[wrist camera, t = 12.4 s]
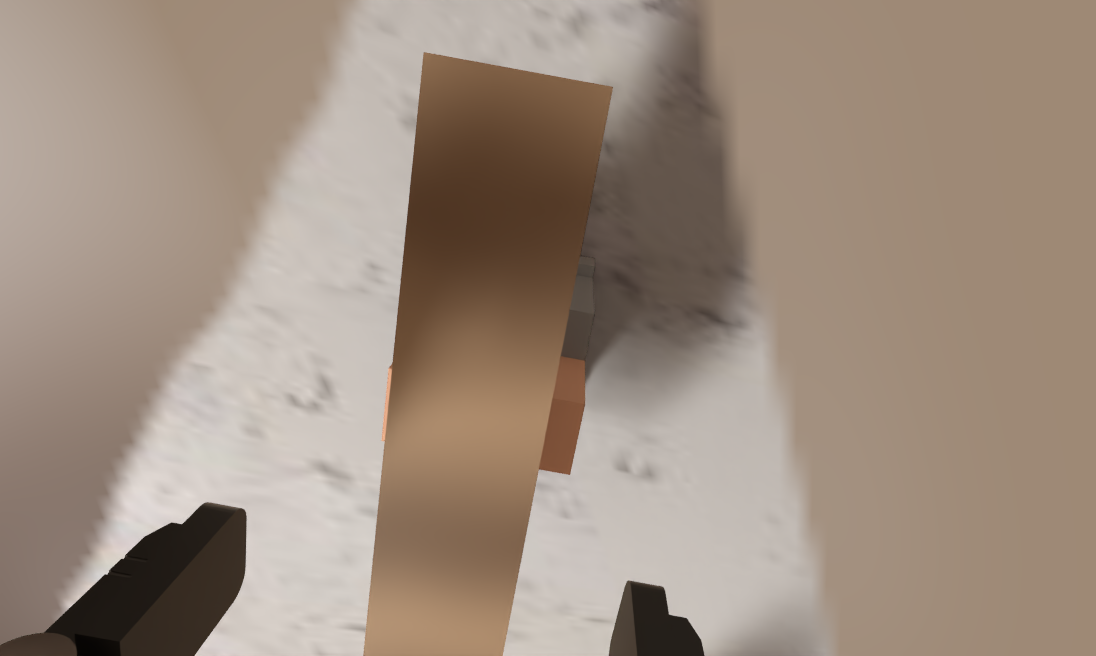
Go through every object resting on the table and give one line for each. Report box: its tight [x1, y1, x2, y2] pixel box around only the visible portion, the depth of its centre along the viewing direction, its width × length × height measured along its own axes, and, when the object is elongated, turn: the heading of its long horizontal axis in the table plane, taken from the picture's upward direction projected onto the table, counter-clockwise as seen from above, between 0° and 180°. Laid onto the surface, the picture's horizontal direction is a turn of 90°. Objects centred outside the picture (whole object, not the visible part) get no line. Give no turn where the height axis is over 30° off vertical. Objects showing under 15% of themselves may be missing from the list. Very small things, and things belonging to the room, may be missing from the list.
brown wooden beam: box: [363, 52, 613, 656], centre depth 17 cm, size 20×4×5 cm, turn 170°
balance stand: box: [382, 256, 595, 475], centre depth 24 cm, size 6×7×10 cm
